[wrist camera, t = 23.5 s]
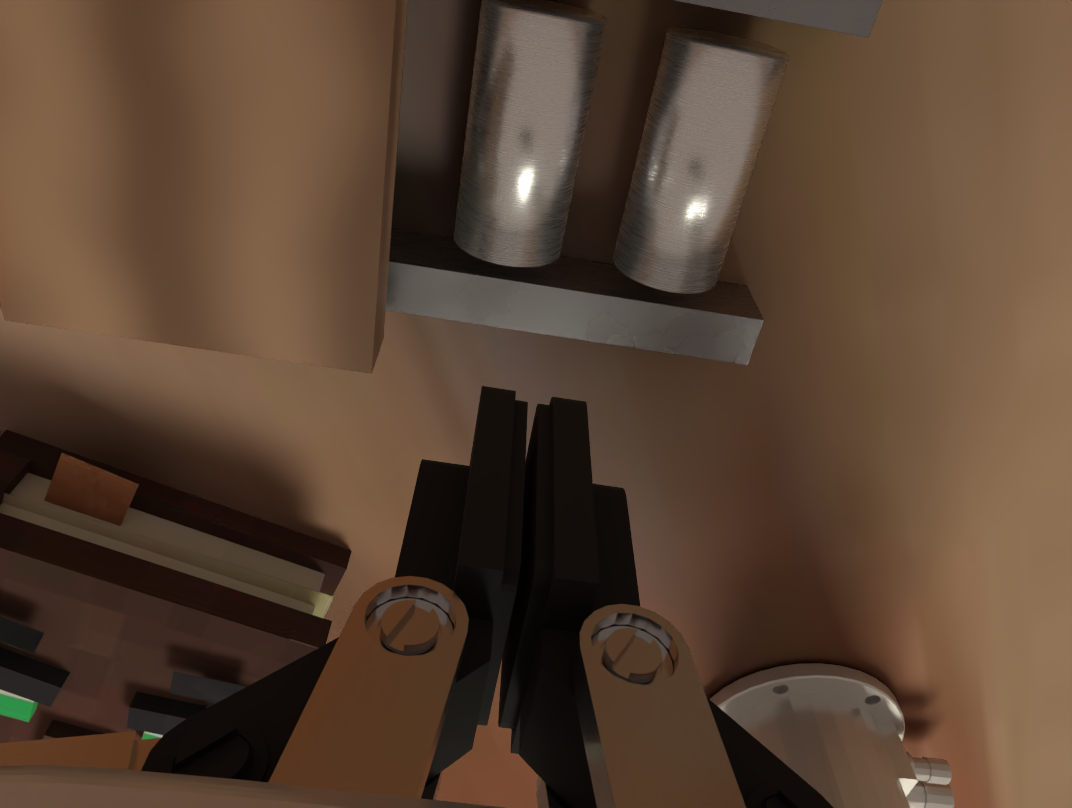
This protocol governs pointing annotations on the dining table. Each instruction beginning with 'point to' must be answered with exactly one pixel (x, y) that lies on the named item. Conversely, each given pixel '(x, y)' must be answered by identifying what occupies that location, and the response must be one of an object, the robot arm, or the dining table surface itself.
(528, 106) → the track
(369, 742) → the robot arm
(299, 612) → the decorative book
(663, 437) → the dining table surface
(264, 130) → the slab
